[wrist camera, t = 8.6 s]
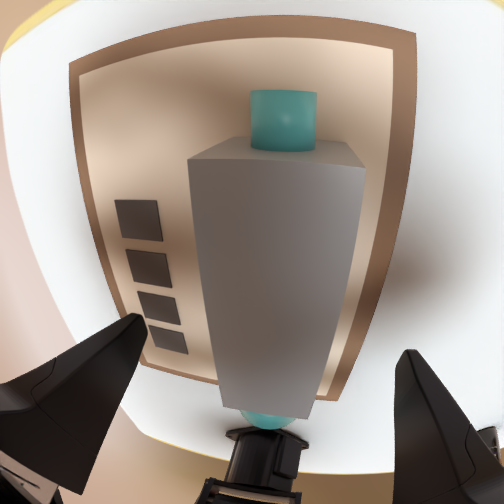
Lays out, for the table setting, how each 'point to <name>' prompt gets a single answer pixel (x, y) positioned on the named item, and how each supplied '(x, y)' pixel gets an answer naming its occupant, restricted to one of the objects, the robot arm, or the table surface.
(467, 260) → the table surface
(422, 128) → the table surface
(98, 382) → the robot arm
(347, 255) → the marker
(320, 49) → the brown framed board
